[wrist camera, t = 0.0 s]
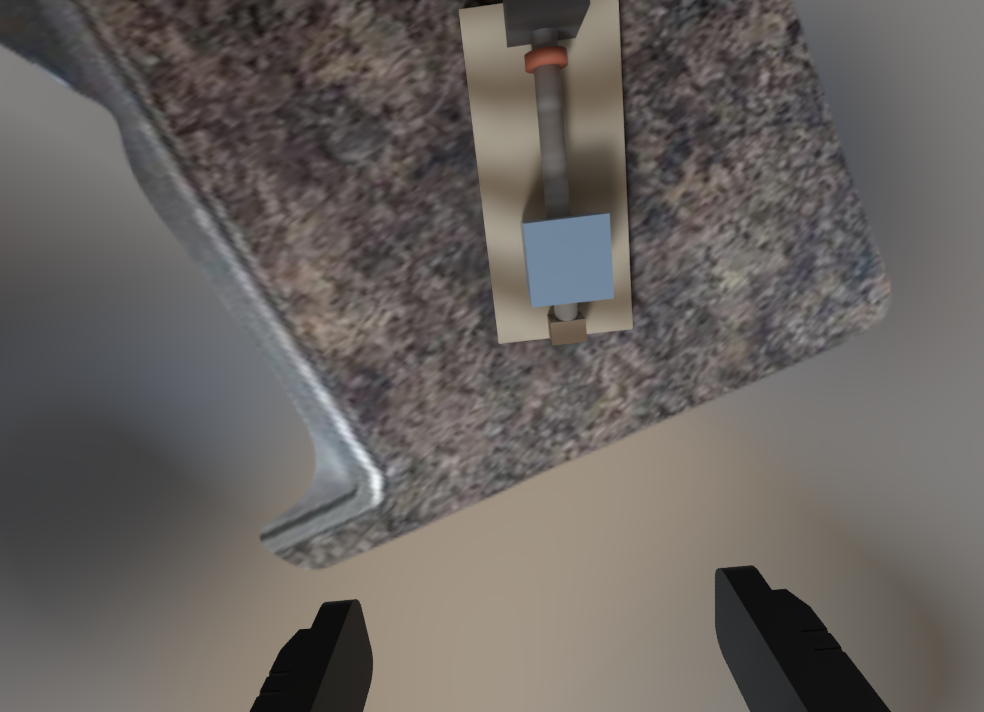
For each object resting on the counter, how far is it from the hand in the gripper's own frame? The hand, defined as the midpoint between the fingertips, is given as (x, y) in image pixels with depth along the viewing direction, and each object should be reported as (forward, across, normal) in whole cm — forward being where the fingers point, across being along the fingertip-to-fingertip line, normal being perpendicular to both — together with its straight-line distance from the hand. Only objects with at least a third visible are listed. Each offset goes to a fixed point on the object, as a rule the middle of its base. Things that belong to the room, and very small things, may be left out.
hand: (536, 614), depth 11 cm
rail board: (+29, -4, -10) cm, 31 cm away
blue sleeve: (+27, -4, -5) cm, 28 cm away
